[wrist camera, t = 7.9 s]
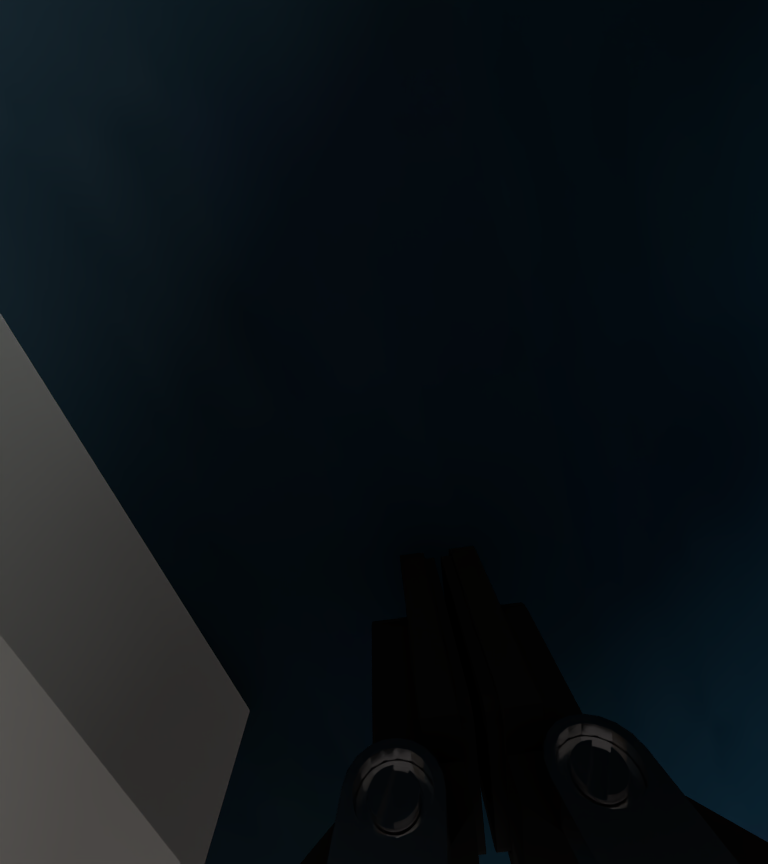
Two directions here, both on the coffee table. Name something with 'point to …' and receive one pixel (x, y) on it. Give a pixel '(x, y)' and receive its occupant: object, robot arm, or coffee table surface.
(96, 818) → the pixel art tile
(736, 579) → the coffee table surface
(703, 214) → the coffee table surface
